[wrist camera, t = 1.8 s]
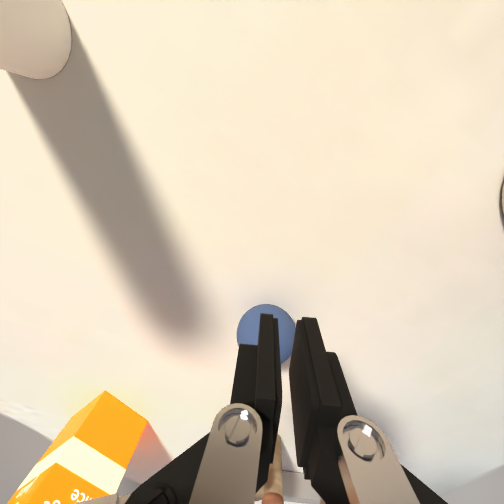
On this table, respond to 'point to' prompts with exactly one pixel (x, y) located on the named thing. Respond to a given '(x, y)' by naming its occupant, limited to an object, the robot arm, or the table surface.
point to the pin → (274, 478)
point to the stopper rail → (298, 488)
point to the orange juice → (85, 455)
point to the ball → (250, 328)
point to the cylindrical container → (34, 37)
